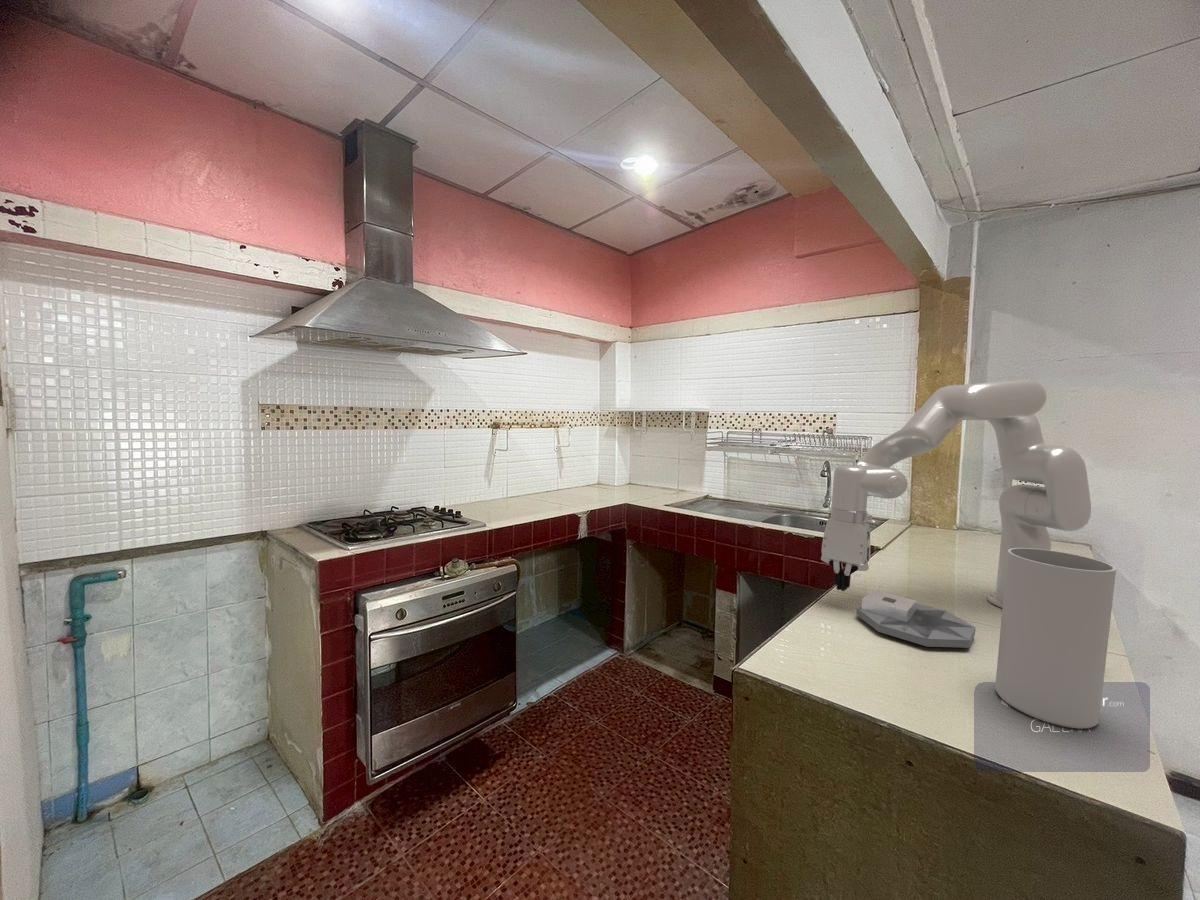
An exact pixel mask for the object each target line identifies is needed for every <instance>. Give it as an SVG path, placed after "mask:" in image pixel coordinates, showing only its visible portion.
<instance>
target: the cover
mask: <svg viewBox="0 0 1200 900" xmlns="http://www.w3.org/2000/svg"><path fill="white" fill-rule="evenodd" d="M916 603H918V602H917V600H915V599H912V598H907V597H903V596H899V595H895V594H892V593H887V592H883V591H880V590H876V589H873V590H871V591H870V592H869V593H868V594H867V595H865V596H864V597H863V598H862V599H861V604H862V609H861V610H864V611H868V612H872V613H875V614H879V615H882V616H886V617H889V618H893V619H896V620H900V621H903V622H907V621H908V620H909V619H910V618H911V616H912V615H913V614H914V613H915V612H916Z"/></svg>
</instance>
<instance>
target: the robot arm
mask: <svg viewBox="0 0 1200 900" xmlns="http://www.w3.org/2000/svg"><path fill="white" fill-rule="evenodd" d="M1046 401H1047V391H1046V389H1045V388H1044V386H1043V385H1042V384H1041V383H1039V382H1038V381H1036V380H1032V379H1016V380H1015V379H1014V380H1001V381H1000V380H998V381H989V382H986V381H985V382H980V383H979V382H978V383H969V384H968V383H967V384H966V383H965V384H953V385H946V386H943V387H941V388H938V389H937V390H935V392H934V393H932V395H931V396H930V397H929V398H928V399H927V400H926V401H925V402H924V403H923V404H922V406H921V407H920V408H919V409H918V410H917V411H916V413H914V415H912V417H911V418H910V419H909V420H908V421H907V422H906V424H904V426H903V427H901V428H900V430H897V431H895V432H893V433H891V434H890V435H889V436H887V437H886V438H884V439H881V440H880V441H878V442H876V443H875V444H874V445H873V446H871V447H870V448H869V449H868V450H867V451H865V453H864V454H863V455H862V456H861V457H860V458H859V460H858V461H857V462H856V463H855V464H854V465H838V466H837V467H836V468H834V474H833V484H832V486H833V487H832V496H831V497H832V499H831V511H830V517H828V519H827V521H826V524H825V529H824V532H823V537H822V543H821V557H820V560H821V562H822V561H823V562H824V563H826V564H828V565H829V566H830V567H831V568H832V570H833V571H834V573H835V577H834V578H835V579H834V585H836V590H838V591H842V592H845V591H846V590H848V589H849V588H850V586H851V576H852V574H854V573H855V572H857V571H858V572H866V571H869V569H870V567H869V562H870V560H871V531H870V530H871V529H870V528H871V527H870V524H869V523H867V522H868V521H870V522H872V521H873V515H872V514H869V513H868V511H867V505H868V497H874V498H880V499H886V500H887V499H888V500H889V499H896V498H899V497H901V496H902V495H903V494H904V493H905V492H906V490H907V489H908V479H907V477H906V476H905V475H904V473H903V472H901V471H900V470H898V469H895V468H892V466H894V465H895V464H897V463H898V462H901V461H903V460H906V459H909V458H913V457H915V456H920V455H924V454H927V453H929V452H932V451H934V450H935V449H937V448H938V447H939V445H941V443H942V442H943V441H944V439H946V438H947V437H948V435H949V434H951V432H952V431H953V429H954V428H955V427H956V426H957V425H958V424H959V423H960V422H961V421H987V422H988V423H989V424H990V425H991V426H992V428H993V429H994V433H995V436H996V440H997V441H996V442H997V448H998V455H999V461H1000V466H1001V470H1002V473H1003V474H1004V475H1005V476H1006V477H1007V478H1008V479H1011V480H1014V481H1018V482H1023V483H1029V484H1014V485H1011V486H1008V487H1007V488H1005V489H1004V490H1003V491H1001V494H1000V496H999V500H998V507H999V512H1000V518H1001V519H1000V520H1001V532H1000V533H1001V534H1000V545H999V555H998V564H997V565H998V567H997V576H996V586H995V587H996V588H995V592H992V593H989V594H988V595H987V601H988V602H989V603H990V604H992V605H994V606H996V607H998V608H1000V609H1003V598H1004V587H1005V577H1006V566H1007V556H1008V550H1009V549H1012V548H1034V549H1044V550H1051V551H1052V540H1051V536H1050V533H1049V531H1048V529H1047V528H1050V529H1054V530H1058V531H1064V532H1073V531H1079V530H1081V529H1083V528H1084V527H1086V525H1087V524H1088V523H1089V522H1090V519H1091V515H1092V501H1091V494H1090V488H1089V487H1090V486H1089V479H1088V472H1087V466H1086V463H1085V460H1084V458H1082V456H1081V455H1080V454H1079V453H1078V451H1076V450H1074V449H1073V448H1072V447H1071V448H1070V447H1068V446H1062V445H1052V444H1051V445H1050V444H1046V443H1045V442H1044V439H1043V433H1042V429H1041V425H1040V422H1039V419H1038V418H1037V416H1036V413H1038V412H1039V411H1040V410H1042V409H1043V407H1044V405H1045V404H1046ZM1030 483H1031V484H1030ZM1034 484H1037V485H1034ZM1038 484H1040V485H1043V486H1040V485H1038ZM843 563H844V564H845V568H844V567H843Z"/></svg>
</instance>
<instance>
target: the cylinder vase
mask: <svg viewBox="0 0 1200 900" xmlns="http://www.w3.org/2000/svg"><path fill="white" fill-rule="evenodd" d="M1116 573H1117V568H1116V566H1114V565H1113V564H1112V563H1108V562H1105V561H1103V560H1098V559H1097V558H1091V557H1089V556H1084V555H1079V554H1074V553H1070V552H1063V551H1058V550H1052V549H1051V550H1044V549H1034V548H1012V549H1009V550H1008V556H1007V566H1006V577H1005V587H1004V598H1003V608H1001V609H1002V612H1001V618H1000V619H1001V622H1000V630H999V631H1000V633H999V641H998V642H999V643H998V653H997V663H996V673H995V685H994V687H995V691H996V693H997V695H999V697H1000V698H1001V700H1003V701H1004V702H1006V703H1007V704H1008V705H1009V706H1011V707H1013V708H1014V709H1016V710H1017V711H1020V712H1022V713H1023V714H1026V715H1027V716H1030V717H1032V718H1035V719H1038V720H1040V721H1043V722H1045V723H1049V724H1052V725H1056V726H1059V727H1063V728H1064V727H1065V728H1070V729H1081V730H1083V729H1090V728H1094V727H1096V726H1097V725H1098V724H1099V722H1100V718H1101V717H1100V716H1101V707H1102V701H1103V692H1104V691H1103V690H1104V682H1105V681H1104V679H1105V672H1106V665H1107V664H1106V663H1107V662H1106V661H1107V653H1108V645H1109V644H1108V643H1109V636H1110V627H1111V617H1112V608H1113V600H1114V591H1115V584H1116V583H1115V581H1116V575H1117V574H1116Z"/></svg>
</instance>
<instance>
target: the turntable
mask: <svg viewBox="0 0 1200 900" xmlns="http://www.w3.org/2000/svg"><path fill="white" fill-rule="evenodd" d="M861 609H862V603H861V604H860V605H859V606H857V607H856V616H857V617H858V618H860V619H861V620H863V621H864V622H865V623H866V624H867V625H869V626H870V627H872V628H873V629H874V630H876V631H877V632H878V633H880V634H884V635H887V636H891V637H894V638H898V639H901V640H904V641H908V642H911V643H914V644H918V645H920V646H924V647H930V648H931V647H937V648H939V647H940V648H962V649H963V648H965V649H966V648H967V649H968V648H970V646H971V644H972V642H973V640H974V638H975V635H976V628H977V627H976V626H974V625H972V624H970V623H968V622H967V621H966V620H963V619H961V618H959V617H958V616H956V615H954V614H952V613H950V612H949V611H947V610H945V609H941V608H938V607H934V606H933V607H932V606H928V605H925V604H921V603H918V602H916V612H915V613H914V614H913V615H912V616H911V618H910V619H909V620H908V621H907V622H903V621H900V620H896V619H893V618H889V617H886V616H882V615H879V614H875V613H872V612H868V611H864V610H861Z"/></svg>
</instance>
